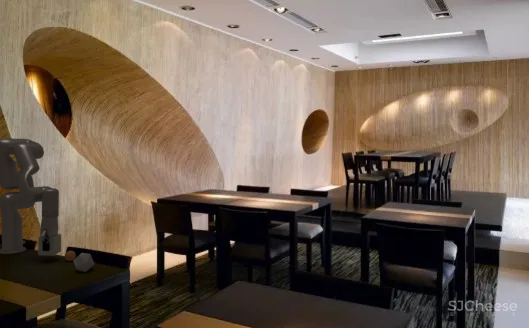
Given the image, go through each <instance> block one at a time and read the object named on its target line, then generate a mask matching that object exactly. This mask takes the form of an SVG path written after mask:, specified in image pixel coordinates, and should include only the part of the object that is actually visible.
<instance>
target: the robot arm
mask: <svg viewBox="0 0 529 328" xmlns="http://www.w3.org/2000/svg"><path fill="white" fill-rule="evenodd" d="M44 154H45V150H44V147H43V145H42V144H40V143H39V142H36V141H34V140H31V139H28V138H6V137H5V138H0V187H1V189H2V190H5V191H8V190H9V192H5V193H3V194H1V195H0V215H1V216H0V218H1V248H0V254H1V255H10V254H13V255H14V254H19V253H22V252H25V251H26V250H27V248H26V247H25V246H23V245H24V244H26V240H23V217H22V215H21V214H20V213H19V211H18V210H23V209H30V208H33V207H34V206H35V204H36V203H41V221H40V234H39V237H41V239H42V251H49V250H50V243H49V238H50V237H52V236H54V235H56V234H59V213H60V212H59V211H60V206H59V205H60V193H59V192H60V191H59V189H57V188H53V187H50V186H48V185H47V186H46V185H45V186H44V185H43V186H42V185H41V186H35V185H34V179H33V175H35V174H36V173H38V172H39V171H40V165H39V163H38V161H37V160H39V159H42V158H43V156H45V155H44ZM11 155H13V156H14V157H15V159H14V158H13V157H11ZM15 160H16V161H15ZM16 162H17V164H16ZM17 166H18V167H19V169H20V171H18V169H17ZM10 190H11V192H10ZM12 190H18V191H12ZM47 236H48V237H47ZM46 238H48V239H46Z"/></svg>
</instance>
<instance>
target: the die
mask: <svg viewBox="0 0 529 328" xmlns="http://www.w3.org/2000/svg"><path fill="white" fill-rule="evenodd" d="M72 261H73V264H74V266H75V269H76V270H77V271H78V272H82V273H86V272H88V271H90V269H91V268H92V267H94V265H95V261H94V259H93V257H92V255H91V253H86V252H81V253H80V254H79V255H78V256H76V257H75V259H74V260H72Z"/></svg>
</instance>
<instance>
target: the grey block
mask: <svg viewBox="0 0 529 328" xmlns="http://www.w3.org/2000/svg"><path fill="white" fill-rule="evenodd" d="M47 237H48V236H47ZM46 239H48V238H46ZM49 243H50V250H49V251H42V239H41V237H40V236H38V245H37V247H38V249H37V250H38V251H37V253H38V254H37V255H38V256H53V257H54V256H56V255H58V254H59V253H61V252H62V234H61V233H58V234H56V235H54V236H52V237H50V238H49Z"/></svg>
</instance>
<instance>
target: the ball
mask: <svg viewBox="0 0 529 328" xmlns="http://www.w3.org/2000/svg"><path fill="white" fill-rule="evenodd" d="M76 255H77V254H76V252H75V251H73V250H68V251H66V253H64V259H65V261H68V262H71V261H73V260H74V259H76V258H77V256H76Z"/></svg>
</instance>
